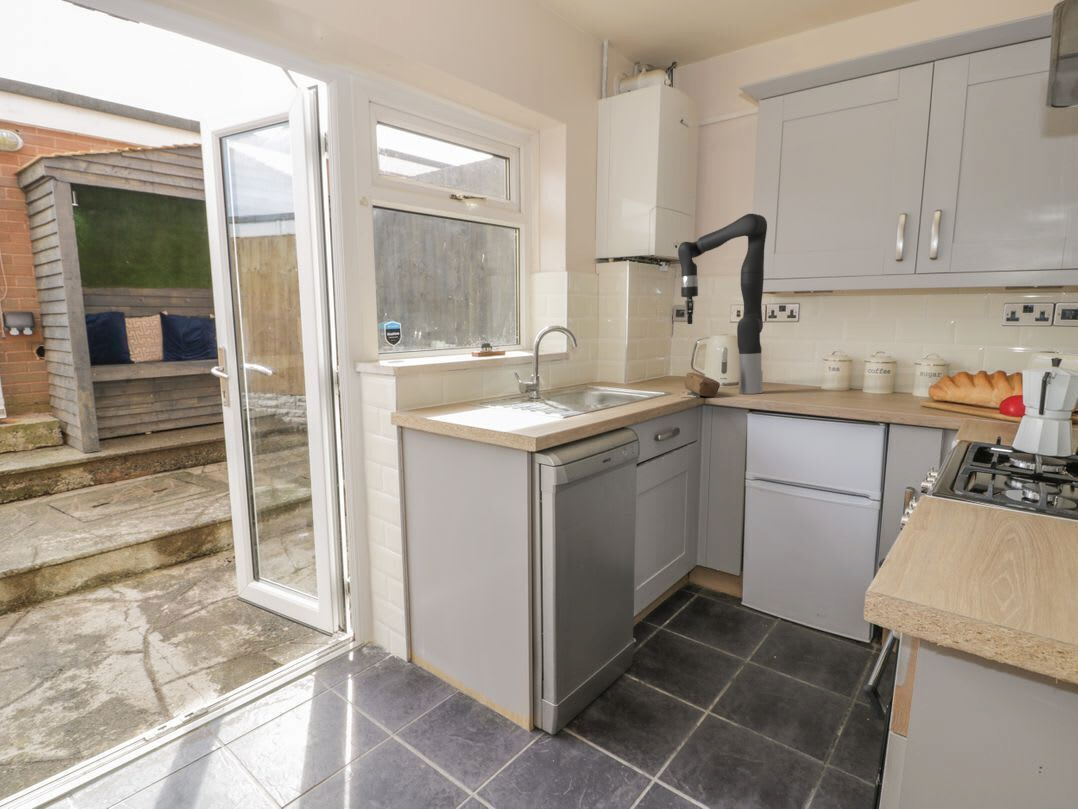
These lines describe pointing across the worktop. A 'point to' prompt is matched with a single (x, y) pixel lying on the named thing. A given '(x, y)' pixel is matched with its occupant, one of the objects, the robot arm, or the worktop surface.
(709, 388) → the block
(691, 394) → the slate board
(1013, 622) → the worktop surface
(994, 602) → the worktop surface
